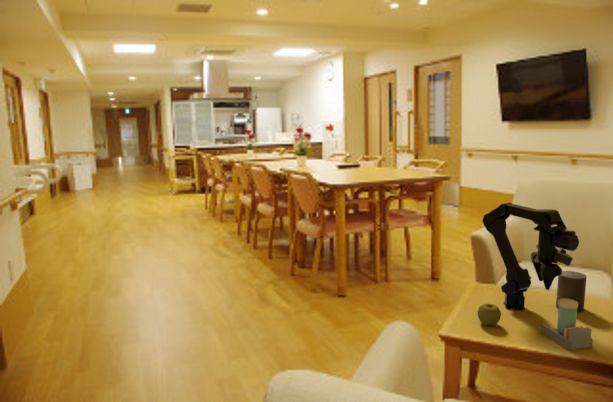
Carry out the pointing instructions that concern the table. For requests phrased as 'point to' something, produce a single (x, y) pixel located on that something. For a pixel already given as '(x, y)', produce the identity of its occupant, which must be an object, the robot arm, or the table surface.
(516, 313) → the table surface
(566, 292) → the pillar candle
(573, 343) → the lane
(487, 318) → the apple
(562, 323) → the jar
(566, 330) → the plate
